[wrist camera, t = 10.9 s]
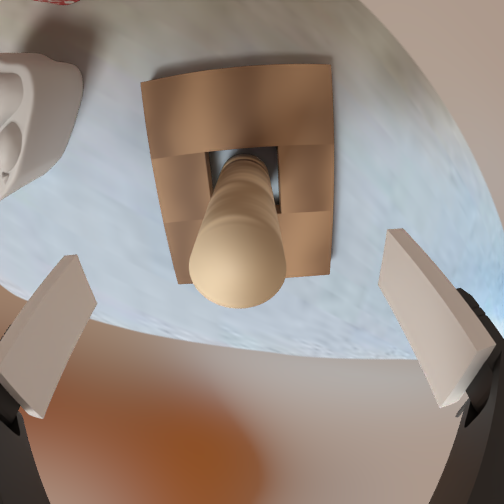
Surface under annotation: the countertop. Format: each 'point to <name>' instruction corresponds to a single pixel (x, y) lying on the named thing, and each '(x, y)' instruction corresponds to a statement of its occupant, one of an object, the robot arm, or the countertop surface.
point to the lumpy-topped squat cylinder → (34, 115)
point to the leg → (239, 238)
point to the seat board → (246, 136)
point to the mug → (59, 1)
